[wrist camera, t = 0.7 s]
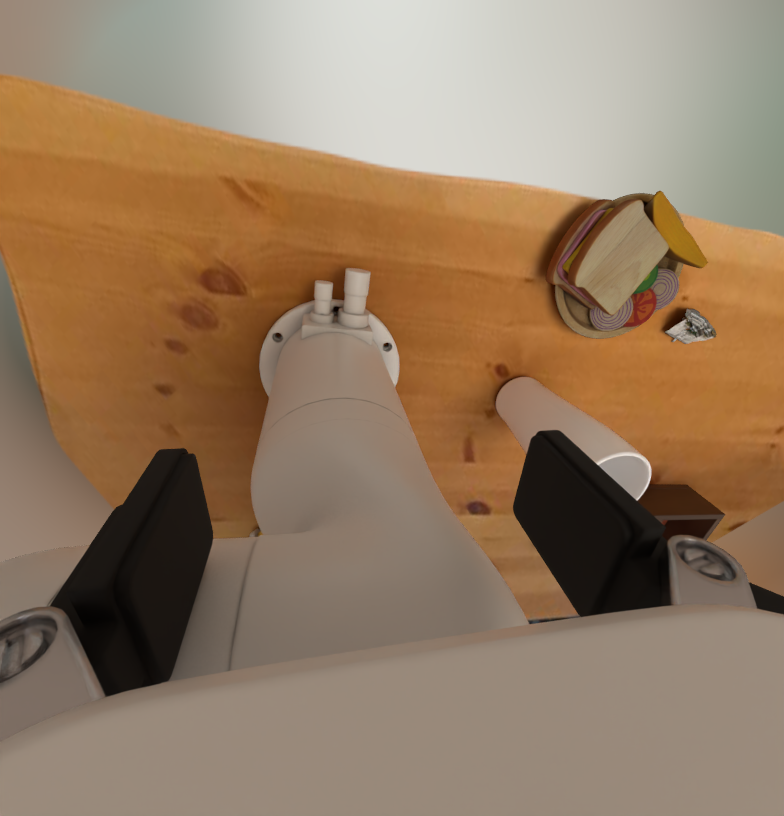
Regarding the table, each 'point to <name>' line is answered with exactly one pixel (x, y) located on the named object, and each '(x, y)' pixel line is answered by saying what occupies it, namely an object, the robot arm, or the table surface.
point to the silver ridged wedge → (692, 328)
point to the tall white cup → (571, 431)
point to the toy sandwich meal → (621, 264)
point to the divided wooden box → (681, 510)
